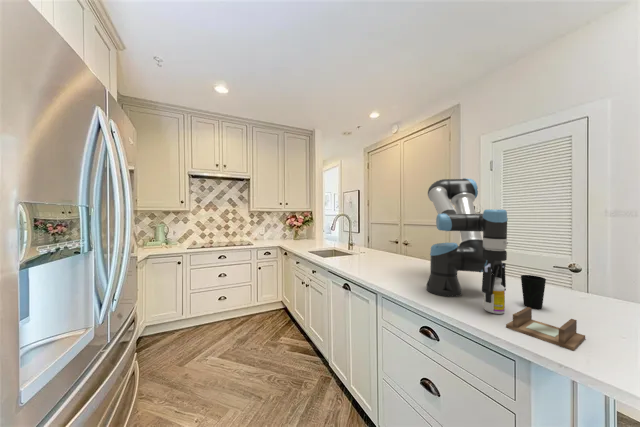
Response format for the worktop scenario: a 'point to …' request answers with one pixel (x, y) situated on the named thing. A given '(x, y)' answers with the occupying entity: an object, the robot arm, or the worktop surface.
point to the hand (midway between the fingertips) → (493, 308)
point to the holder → (547, 330)
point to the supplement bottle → (498, 297)
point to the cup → (533, 291)
